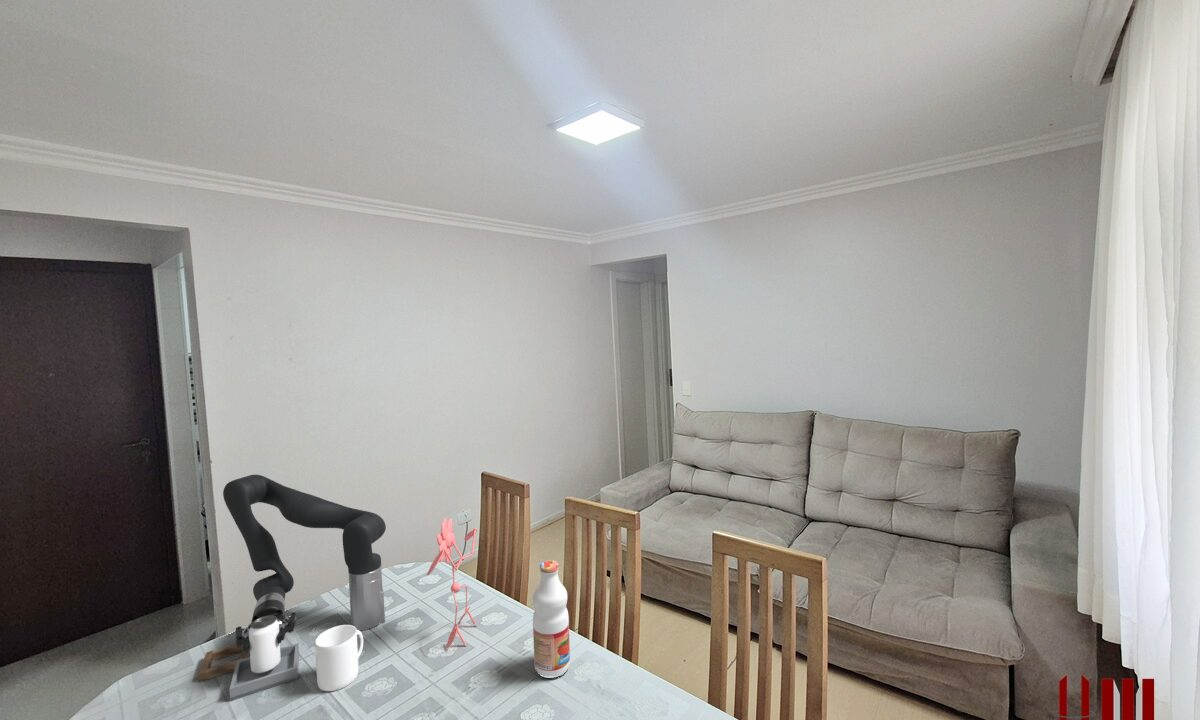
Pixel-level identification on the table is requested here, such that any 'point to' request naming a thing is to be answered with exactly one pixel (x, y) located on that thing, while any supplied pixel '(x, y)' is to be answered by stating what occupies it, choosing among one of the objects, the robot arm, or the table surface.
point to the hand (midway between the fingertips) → (263, 644)
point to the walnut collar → (224, 668)
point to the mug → (337, 657)
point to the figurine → (445, 543)
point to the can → (264, 644)
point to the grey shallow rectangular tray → (264, 674)
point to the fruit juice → (550, 623)
